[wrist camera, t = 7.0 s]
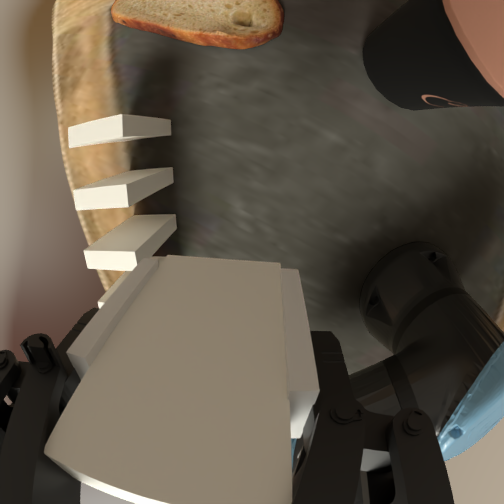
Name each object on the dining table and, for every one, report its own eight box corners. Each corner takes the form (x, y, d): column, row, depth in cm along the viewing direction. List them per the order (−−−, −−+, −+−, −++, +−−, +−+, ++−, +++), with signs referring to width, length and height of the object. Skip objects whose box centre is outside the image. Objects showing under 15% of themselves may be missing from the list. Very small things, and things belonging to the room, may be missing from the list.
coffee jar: (384, 121, 25) (499, 120, 9) (342, 39, 22) (413, -42, 5) (448, 100, 23) (558, 100, 6) (412, 25, 19) (500, -24, 3)
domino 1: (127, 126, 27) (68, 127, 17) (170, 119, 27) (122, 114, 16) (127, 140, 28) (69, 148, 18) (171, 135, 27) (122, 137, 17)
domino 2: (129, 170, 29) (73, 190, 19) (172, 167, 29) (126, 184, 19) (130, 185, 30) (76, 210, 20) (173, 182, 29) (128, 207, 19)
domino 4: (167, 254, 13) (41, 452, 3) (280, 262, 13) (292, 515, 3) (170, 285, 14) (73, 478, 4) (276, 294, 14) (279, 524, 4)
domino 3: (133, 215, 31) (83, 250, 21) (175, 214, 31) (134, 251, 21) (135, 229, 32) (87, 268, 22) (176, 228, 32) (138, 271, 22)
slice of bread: (108, 7, 20) (94, -2, 17) (232, -54, 16) (229, -69, 13) (151, 102, 26) (137, 98, 23) (298, 35, 22) (301, 23, 19)
